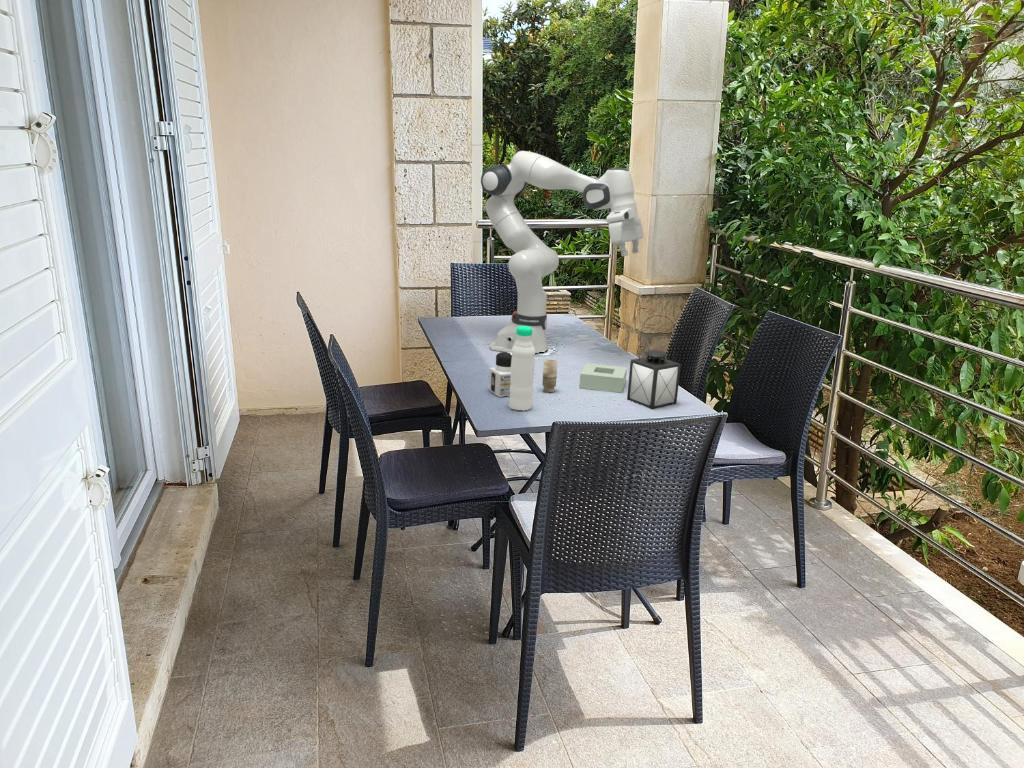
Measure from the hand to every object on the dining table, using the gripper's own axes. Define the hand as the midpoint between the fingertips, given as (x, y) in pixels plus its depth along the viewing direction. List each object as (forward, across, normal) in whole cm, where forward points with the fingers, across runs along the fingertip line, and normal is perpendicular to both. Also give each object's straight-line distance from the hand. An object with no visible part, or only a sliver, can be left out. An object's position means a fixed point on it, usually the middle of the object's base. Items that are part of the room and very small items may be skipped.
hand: (630, 254), depth 281 cm
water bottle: (+38, +64, -14) cm, 76 cm away
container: (+35, +55, -25) cm, 70 cm away
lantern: (+45, +32, +14) cm, 58 cm away
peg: (+37, +44, -16) cm, 60 cm away
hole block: (+40, +26, -5) cm, 48 cm away
